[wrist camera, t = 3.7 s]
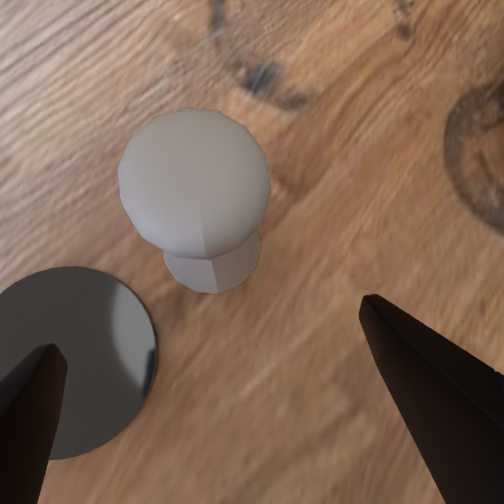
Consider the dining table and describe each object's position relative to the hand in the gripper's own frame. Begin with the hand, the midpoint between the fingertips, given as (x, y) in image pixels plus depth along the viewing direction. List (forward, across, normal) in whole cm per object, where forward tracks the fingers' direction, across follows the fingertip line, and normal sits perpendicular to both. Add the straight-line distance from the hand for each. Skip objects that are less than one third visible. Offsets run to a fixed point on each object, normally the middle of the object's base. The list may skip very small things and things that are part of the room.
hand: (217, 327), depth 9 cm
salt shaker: (+11, 0, +5) cm, 12 cm away
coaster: (+7, +10, +9) cm, 15 cm away
